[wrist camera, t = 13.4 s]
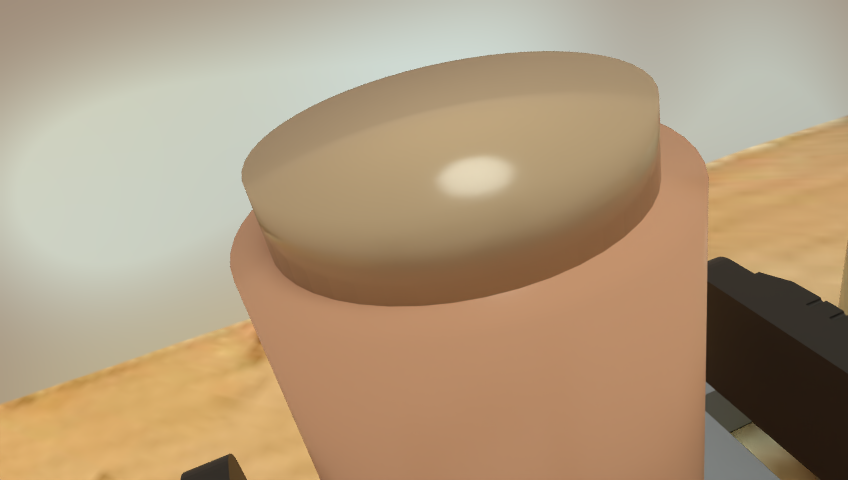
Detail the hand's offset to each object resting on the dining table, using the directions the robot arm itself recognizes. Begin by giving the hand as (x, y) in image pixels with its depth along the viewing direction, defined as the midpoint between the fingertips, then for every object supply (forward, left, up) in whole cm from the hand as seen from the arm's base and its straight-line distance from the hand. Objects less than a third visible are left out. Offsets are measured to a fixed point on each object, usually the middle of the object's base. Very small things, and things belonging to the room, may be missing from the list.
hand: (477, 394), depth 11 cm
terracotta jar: (0, 0, -10) cm, 10 cm away
